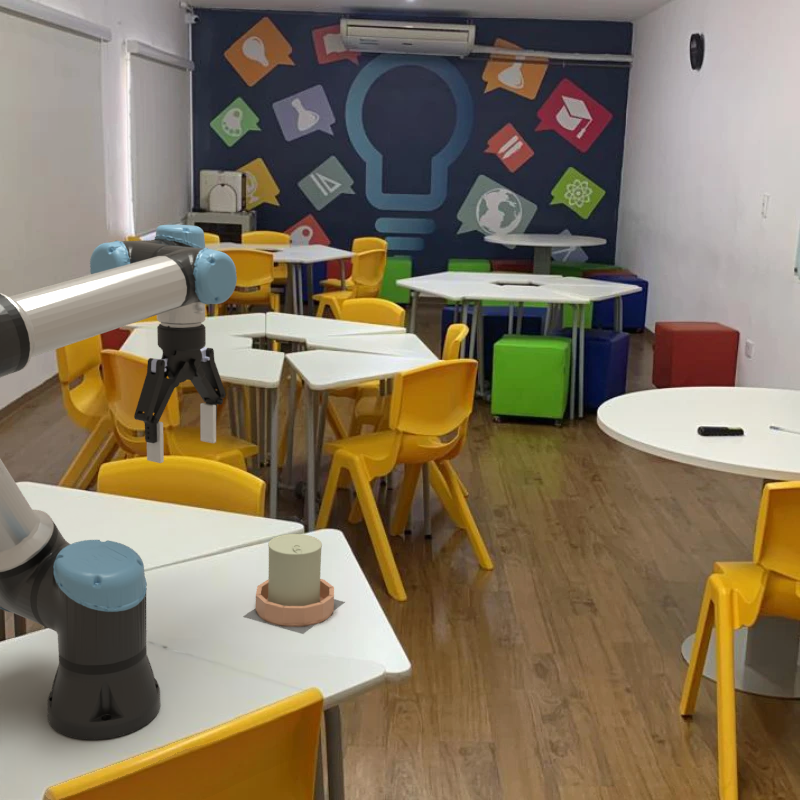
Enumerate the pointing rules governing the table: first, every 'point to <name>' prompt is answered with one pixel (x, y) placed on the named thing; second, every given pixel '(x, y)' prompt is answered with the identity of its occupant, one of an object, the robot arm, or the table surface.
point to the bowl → (295, 608)
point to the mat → (302, 630)
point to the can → (294, 570)
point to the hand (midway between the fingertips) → (182, 451)
